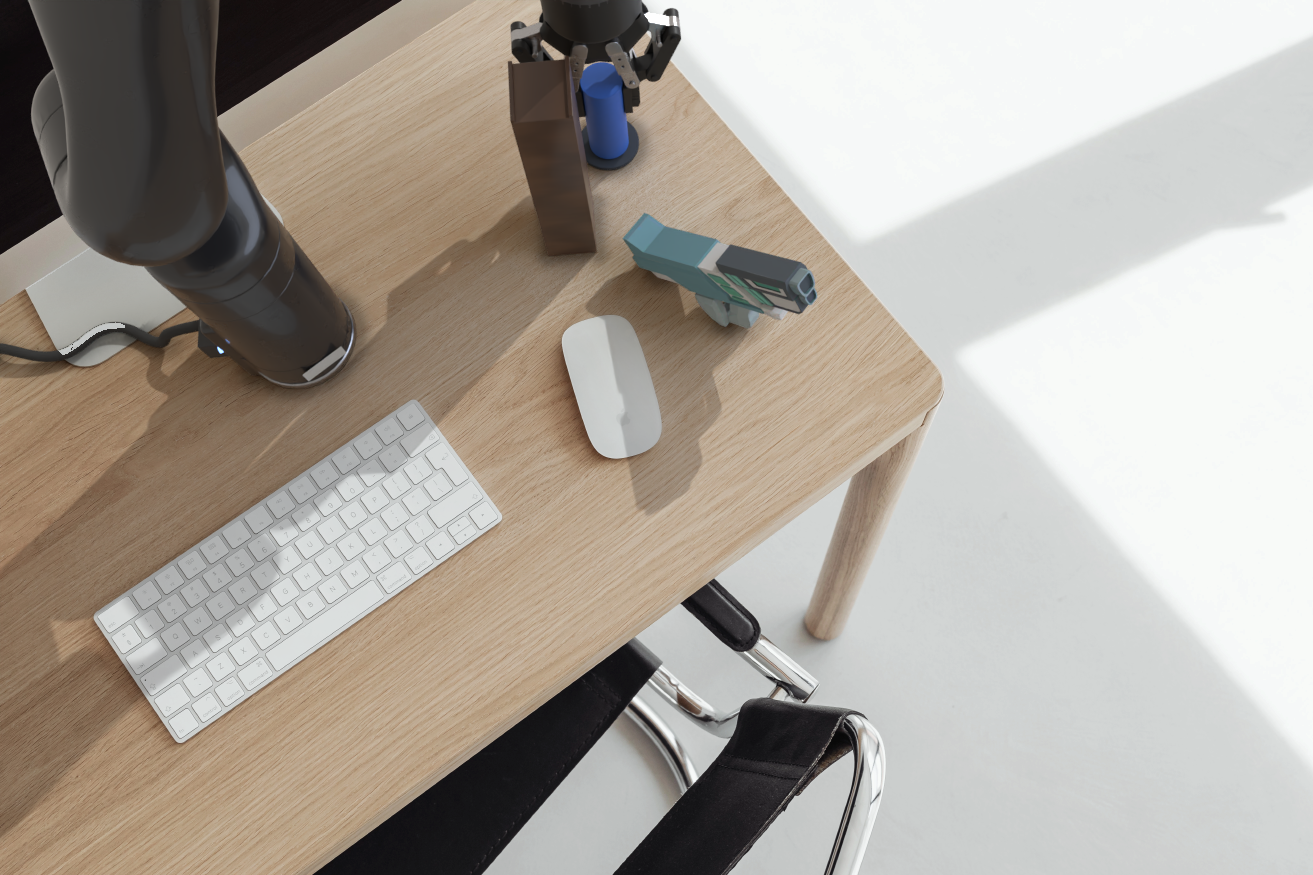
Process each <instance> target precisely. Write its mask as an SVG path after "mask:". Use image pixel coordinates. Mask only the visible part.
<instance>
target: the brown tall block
mask: <svg viewBox="0 0 1313 875" xmlns="http://www.w3.org/2000/svg"><path fill="white" fill-rule="evenodd" d="M507 74H508V97H509V121H510V125H511V127H512V128H511V129H512V131H513V135H514V139H515V142H516V145H517V149H518V153H519V156H520V160H521V164H522V168H523V171H524V174H525V178H526V182H527V185H528V189H529V192H530V195H531V200H532V203H533V207H534V210H535V211H534V212H535V214H536V218H537V221H538V224H539V227H540V232H541V236H542V239H543V243H544V246H545V250H546V253H547V257H555V256H567V255H578V254H579V255H580V254H590V253H597V252H598V245H597V233H596V232H597V230H596V219H595V218H596V217H595V203H594V197H593V191H592V185H591V179H590V174H589V167H588V163H587V161H586V155H585V149H584V143H583V137H582V126H581V119H580V117H579V113H578V107H577V101H576V95H575V90H574V84H573V78H572V72H571V66H570V60H569V56H565V59H563V58H562V59H554V60H550V61H538V62H527V63H520V62H518V63H515V62H514V63H513V60H508V61H507Z"/></svg>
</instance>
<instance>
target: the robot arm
mask: <svg viewBox="0 0 1313 875" xmlns="http://www.w3.org/2000/svg"><path fill="white" fill-rule="evenodd" d="M27 2H28V3H29V6H30V9H31V11H32V14H33V17H34V19H35V22H36V25H37V27H38V30H39V33H40V36H41V38H42V41H43V44H44V46H45V48H46V51H47V54H48V57H49V60H50V62H51V64H52V67H53V69H51V70H50V71H49V72H48V73H47V74H45V76H44V77H43V79H41V81H40V83H39V85H38V86H37V88H36V90H35V93H34V95H33V98H32V102H31V103H32V104H31V113H30V115H31V116H30V117H31V124H32V128H33V132H34V136H35V139H36V142H37V144H38V148H39V150H40V154H41V157H42V160H43V163H44V165H45V169H46V172H47V174H48V177H49V180H50V183H51V187H52V189H53V192H54V195H55V199H56V201H57V203H58V206H59V208H60V211H61V213H62V216H63V217H64V220H65V221H66V223H67V224H68V225H69V227H70V228H71V230H72V231H73V232H74V233H75V235H76V236H77V237H78V238H79V239H81V241H83V243H84V244H86V245H87V246H88V247H89V248H90V249H91V250H93V251H95V252H96V253H97V254H100V255H101V256H103V257H106V258H108V259H110V260H112V261H114V262H117V263H121V264H125V265H128V266H133V267H141V268H142V267H143V268H144V269H145V271H147V273H148V274H149V275H150V276H151V277H152V278H153V279H154V280H155V281H156V282H157V283H158V284H159V285H161V286H162V287H163V288H164V289H165V290H166V291H167V292H169V293H170V294H171V295H172V296H174V298H175V299H177V300H178V301H179V302H180V303H182V305H183V306H185V307H186V308H187V309H188V310H189V311H190V312H192V313H193V314H194V315H195V316H196V317H197V318H198V319H196V320H191V321H186V322H181V323H178V324H175V325H172V326H169V327H165V328H164V329H162V330H161V332H160V334H159V336H156V335H153V334H150V333H148V332H147V331H145V330H144V329H141V328H139V327H137V326H136V325H133V324H131V323H130V324H129V323H126V322H122V321H109V322H107V323H115V322H116V323H121V324H123V325H125V328H117V329H107V330H103V331H101V332H98V333H96V334H95V335H93V336H92V337H90V338H89V339H88V340H86V341H85V342H84V343H83V344H81V345H80V346H79V347H77V348H76V349H74V350H73V351H71V352H69V353H68V354H65V355H62V354H61V353H60V352H59V351H58V350H61V349H64V348H66V347H68V346H69V345H71V344H72V343H74V342H75V341H73V342H72V343H70V344H69V345H66V346H65V347H63V348H60V349H56V350H48V351H46V350H45V351H44V350H35V349H29V348H25V347H21V346H17V345H12V344H8V343H2V342H0V355H6V356H10V357H14V358H17V359H18V358H19V359H23V360H27V361H32V362H39V363H54V362H55V363H56V362H61V361H65V360H68V359H70V358H72V357H74V356H75V355H78V354H79V353H81V352H82V351H83V350H85V349H86V348H88V347H89V346H90V345H92V343H94V342H95V341H97V340H98V339H100V338H101V337H103V336H106V335H109V334H113V333H119V334H125V335H127V336H129V337H132V338H133V339H135V340H138V341H139V342H141V343H143V344H145V345H147V346H150V347H153V348H159V349H160V348H165V347H167V346H169V345H170V342H171V341H172V339H173V338H176V337H179V336H183V335H187V334H192V333H196V332H197V349H199V351H200V350H201V352H203V353H204V354H205V355H206V356H208V357H209V358H210V359H217V358H228V357H229V358H230V359H231V360H232V361H234V362H235V363H236V364H237V365H238V366H239V367H241V368H242V369H243V370H244V371H245V372H246V373H247V374H249V375H250V376H251V377H252V376H253V377H254V376H255V377H256V376H261V377H263V378H264V379H266V380H267V381H268V382H270V383H272V384H274V385H276V386H278V387H281V388H284V389H285V388H286V389H292V390H298V389H299V390H301V389H307V388H313V387H315V386H318V385H321V384H323V383H325V382H328V380H330V379H332V378H333V377H335V376H336V375H337V374H338V373H339V372H340V371H341V370H342V369H343V368H344V367H345V365H346V364H347V363H348V361H349V360H350V358H351V356H352V354H353V352H354V349H355V346H356V341H357V326H356V321H355V318H354V315H353V313H352V311H351V310H350V308H349V306H347V304H346V303H345V302H344V300H342V298H341V297H339V295H337V293H336V292H335V290H334V289H333V287H332V286H331V285H330V283H329V282H328V281H327V280H326V279H325V278H324V276H323V275H322V273H321V272H320V271H319V270H318V268H317V267H316V265H315V264H314V263H313V261H312V260H311V259H310V257H308V255H307V254H306V253H305V251H304V250H303V249H302V247H301V246H300V245H299V243H298V242H297V241H296V240H295V238H294V237H293V236H292V234H291V233H290V232H289V231H288V229H287V228H286V227H285V225H284V224H283V223H282V222H281V220H280V219H279V217H277V215H276V213H274V211H273V210H272V209H271V207H270V206H269V204H268V203H267V202H266V200H265V199H264V197H263V196H262V193H261V192H260V190H259V188H258V186H257V185H256V182H255V181H254V179H253V176H252V175H251V173H250V171H249V170H248V167H247V166H246V164H245V163H244V161H243V160H242V158H241V156H240V155H239V153H238V152H237V151H236V149H235V148H234V146H233V145H232V143H231V142H230V140H229V139H228V138H227V136H226V135H225V133H224V132H223V131H222V129H221V128H220V127H219V121H218V113H217V112H218V111H217V100H216V61H217V49H218V48H217V47H218V37H219V19H220V18H219V17H220V0H27ZM540 6H541V13H540V15H539V18H538V22H536V23H533V24H530V25H528V26H527V25H526V23H525V22H523V21H520V20H516V21H513V22H511V23H510V46H511V48H510V50H511V55H512V56H513V57H514V58H515V59H516V61H517V62H518V63H527V62H538V61H550V60H555V59H554V58H553V57H552V56H551V54H550V53H549V51H547V49H546V48H545V47H544V46H543V43H542V42H545V43H546V44H548V45H549V46H550V47H552V48H553V49H555V50H556V51H558V52H559V53H560V54H562V55H563V58H562V59H565V56H569V60H570V66H571V72H572V78H573V84H574V90H575V95H576V101H577V107H578V113H579V118H585V110H584V104H583V98H582V92H581V87H580V79H582V75H583V71H584V70H585V65H592V64H594V63H598V62H606V63H612V65H614V66H615V69H616V71H617V73H618V75H621V77H622V79H623V95H624V105H625V113H626V114H633V113H634V108H637V107H640V105H641V93H640V86H641V82H643V81H648V82H650V83H656V82H659V81H660V80H661V78H662V76H663V75H664V73H665V71H666V69H667V67H668V66H669V63H670V62H671V59H672V58H673V56H674V54H675V52H676V50H677V49H678V46H679V45H680V42H681V40H682V34H681V32H682V31H681V22H680V12H679V10H678V9H677V8H674V7H669V8H667V9H665V10H664V11H663V12H662V14H658V13H652V12H649V9H648V6H647V5H646V4H645V3H644V2H643V0H540ZM648 32H649V33H650V39H649V42H648V44H647V46H646V48H645V50H644V52H643V54H642V55H640V56H637V53H636V52H635V49H634V47H635V46H636V44H637V43H638V42H639V41H641V39H642V38H643V37H644V36H645V35H646V34H647V33H648ZM105 323H106V322H104V323H101V324H98V325H96V326H93V327H92V328H91V329H93V328H95V327H97V326H99V325H102V324H105ZM91 329H89V330H88V331H90V330H91ZM88 331H86V332H85V333H87V332H88ZM83 335H84V334H82V335H81V336H80V337H82V336H83ZM78 339H79V338H77V339H76V340H78ZM72 345H73V344H72ZM72 348H73V347H72ZM72 348H71V350H72Z"/></svg>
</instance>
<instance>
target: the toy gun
mask: <svg viewBox="0 0 1313 875" xmlns="http://www.w3.org/2000/svg"><path fill="white" fill-rule="evenodd" d="M622 240H623V241H624V243H625V244H626V246H627V247H628V249H629V250H630V251H631V253H632V254H633V256H632V259H633V261H634V263H636V265H637V267H638V268H639V269H642V270H647V271H650V272H651V273H652V274H653V275H654V276H655V277H656V278H658V279H660V280H665V281H668V282H671V283H674V284H676V285H677V284H678V285H680V286H681V287H683V288H684V289H685V290H687V291H689V292H691V293H694V298H695V300H696V301H697V304H698V305H699V307H700V308H701V309H702V310H703V312H705V313H706V314H707V315H708V317H710V318H711V319H712V320H713V321H715V323H717V324H718V325H719V326H722V327H725V328H726V327H727V326H729V324H733V325H737V326H738V327H742V328H744V329H751V328H752V327H753V326H754V324H756V322H757V320H758V319H759V317H760V314H762V315H765V316H766V317H769V318H771V319H773V320H777V321H782V320H783V319H784V318H785V317H786V315H787V314H788V313H793V314H796V315H801V314H802V313H804V311H806V309H807V307H808V306H812V305H813V304H814V303H815V302H816V300H817V299H818V291H817V290H816V279H815V277H814V274H813V272H812V270H810V269H809V268H808V267H807V265H805V264H804V263H803V262H802V261H798V260H794V259H791V258H786V257H783V256H778V255H774V254H770V253H766V252H762V251H759V250H754V249H751V248H746V247H743V246H739V245H734V244H732V243H731V244H727V243H722V242H721V241H720V240H719V239H717V238H714V237H709V236H706V235H701V234H699V233H694V232H690V231H686V230H682V229H678V228H674V227H670V226H666V225H664V224H663V223H662V222H660V221H659V220H657V219H656V218H655V217H653V216H652V215H650V214H649V213H646V212H643V214H642V215H641V216H640V217H639V219H637V221H635V223H634V224H633V225H632V227H631V228H630V229H629V230H628V231H627V233H625V235H624V236H623V237H622Z"/></svg>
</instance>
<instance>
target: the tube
mask: <svg viewBox="0 0 1313 875" xmlns="http://www.w3.org/2000/svg"><path fill="white" fill-rule="evenodd" d="M580 87H581V92H582V98H583V104H584V110H585V117H584V118H585V123H586V124H585V126H586V125H587V131H588V137H589V143H590V148H591V150H592V151H593V153H594V154H595V155H597V156H598V157H600V158H604V159H614V158H617V157H619V156H621V155H622V154H623V153H624V152H625V151H626V149H627V147H628V144H629V138H628V128H627V121H628V119H627V118H628V117H627V113H625V105H624V95H623V79H622V77H621V75H618V73H617V71H616V69H615V66H614V64H613V63H611V62H595V63H591V64H589V65H588V66H587V67H586V68H584V70H583V75H582V79H580Z"/></svg>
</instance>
